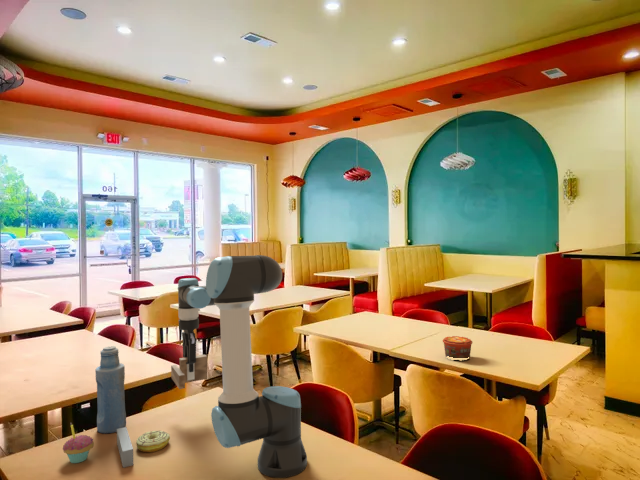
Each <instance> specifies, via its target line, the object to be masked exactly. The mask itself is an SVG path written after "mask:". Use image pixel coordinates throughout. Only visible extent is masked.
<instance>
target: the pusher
mask: <svg viewBox="0 0 640 480" xmlns="http://www.w3.org/2000/svg"><path fill="white" fill-rule="evenodd" d="M178 362H179V366H178V365H177V364H172V365H170V369H171V371H170V372H171V373H170V374H171V375H170V376H171V377H170V378H171V380H172V381H173V382H174V384H175V386H177V389H179V390H183V389H186V384H187V383H192V382H193V383H194V382H198V381H203V380H208V356H207V355H206V354H198V355H196V363H194V374H195V379H193V380H188V381H187V364H186V362H188V360H187V357H185V358H184V357H179V360H178Z"/></svg>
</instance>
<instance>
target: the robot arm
mask: <svg viewBox="0 0 640 480" xmlns="http://www.w3.org/2000/svg"><path fill="white" fill-rule="evenodd" d="M205 277H206V280H205V285H199V279H197V278H195V277H191V278H190V277H188V278H187V277H186V278H180V279H179V280H178V283H177V285H178V286H177V295H178V296H177V297H178V298H177V300H178V313H177V314H178V316H177V317H178V329H179V330H181V331H183V332H181V337H182V358H185V357H187V360H188V362H186V364H187V381H188V380H193V379H195V374H194V363H196V356H197V337H196V333H195V330H197V329H199V327H200V320H199V312H200V311H201V309H204V308H206V307H211V306H216V307H217V308H218V309H219V323H220V325H219V327H220V345H221V347H220V348H221V349H220V350H221V351H220V352H221V368H222V369H221V371H222V392H221V394H220V395H219V396H218V397H217V400H218V401H217V402H218V403H217V405H215V406H214V407H213V408H212V409H211V415H210V416H211V417H210V418H211V423H212V424H211V425H212V428H213V431H214V434H215V437H216V439H217V441H218V442H219V444H220V445H221V446H222V447H223V448H226V449H230V448H234V447H240V446H242V445H246V444H249V443H252V442H256V441H259V440H262V443H261V446H260V450H259V453H258V456H257V468H258V471H259V472H260V473H261V474H262V475H265V476H267V477H270V478H274V479H275V478H277V479H278V478H279V479H281V478H283V479H284V478H290V477H294V476H296V475H299V474H300V473H302V472H304V470H305V469H306V467H307V466H308V455H307V452H306V448H305V446H304V443H303V440H302V423H301V422H302V418H301V417H302V416H301V415H302V414H301V413H302V409H301V408H302V403H301V402H302V401H301V395H300V393H299V392H298V391H297V390H296V389H293V388H290V387H286V386H281V385H276V386H273V385H272V386H267V387H265V388H264V389H262V392H261V395H260V396H259V392H257V391H256V390H255V389H254V380H253V379H254V378H253V361H252V360H253V359H252V358H253V357H252V338H251V337H252V336H251V319H250V318H251V316H250V315H251V313H250V307H251V305H252V304H253V303H254V302H255V294H256V295H258V294H264V293H265V294H266V293H269V292H271V291H274V290H276V289H277V288H278V287H279V286H280V285H281V282H282V280H283V270H282V267H281V265H280V264H279V263H278V262H277V260H275V259H274V258H272V257H271V256H268V255H261V254H258V255H257V254H256V255H227V256H220V257H216V258H214V259H213V260H212V261H211V262H210V264H209V266H208V269H207V272H206V276H205Z"/></svg>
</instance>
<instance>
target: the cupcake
mask: <svg viewBox="0 0 640 480" xmlns="http://www.w3.org/2000/svg"><path fill="white" fill-rule="evenodd" d="M70 428H71V429H70V430H71V436H72V437H71V438H69V439H67V441H66V442H65V443H64V445H63V447H62V450H63V453H65V455H67V457H68V460H69V462H70V463H71V464H79V463H82V462H84V461H86V460H87V458H88V455H89V453H90V450H91V449H92V448H93V447H94V445H95V443H94V438H93V437H91V436H90V435H86V434H85V435H84V434H81V435H77V436H76V432H75V428H74V424H73V423H70Z"/></svg>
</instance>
